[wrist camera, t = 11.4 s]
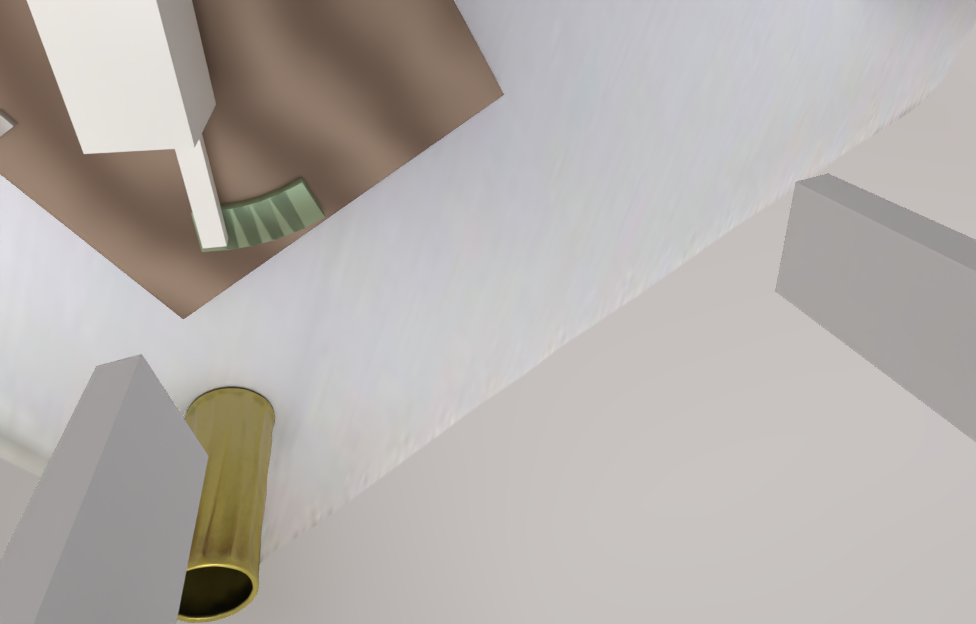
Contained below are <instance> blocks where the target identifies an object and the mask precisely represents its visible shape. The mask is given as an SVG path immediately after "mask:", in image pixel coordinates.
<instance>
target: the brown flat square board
mask: <svg viewBox="0 0 976 624" xmlns="http://www.w3.org/2000/svg"><path fill="white" fill-rule="evenodd" d="M192 3H193V7H194V11H195V16H196V20H197V24H198V29H199V33H200V37H201V42H202V46H203V50H204V54H205V59H206V63H207V67H208V72H209V76H210V80H211V85H212V89H213V93H214V98H215V102H216V106H215V108H214V110H213V112H212V114H211V116H210V118H209V120H208V122H207V124H206V126H205V128H204V130H203V132H202V135H203V139H204V143H205V147H206V151H207V155H208V159H209V163H210V167H211V171H212V175H213V179H214V183H215V187H216V191H217V195H218V199H219V203H220V207H221V211H222V215H223V219H224V223H225V227H226V231H227V235H228V243H227V246H224V247H213V248H203V247H202V244H201V240H200V237H199V233H198V230H197V226H196V223H195V219H194V215H193V212H192V208H191V205H190V201H189V198H188V194H187V191H186V187H185V183H184V180H183V176H182V173H181V169H180V166H179V162H178V159H177V155H176V151H175V149H164V150H147V151H129V152H111V153H94V154H84V153H83V151H82V148H81V145H80V143H79V140H78V137H77V135H76V132H75V129H74V126H73V124H72V121H71V118H70V116H69V113H68V110H67V108H66V105H65V102H64V100H63V97H62V94H61V91H60V89H59V86H58V83H57V81H56V78H55V75H54V73H53V70H52V67H51V65H50V62H49V59H48V56H47V54H46V51H45V48H44V46H43V43H42V40H41V38H40V35H39V32H38V30H37V27H36V24H35V21H34V19H33V16H32V13H31V11H30V8H29V5H28V3H27V0H0V174H1V175H2V176H3V177H5V178H6V179H7V180H8V181H10V182H11V183H12V184H13V185H15V186H16V187H17V188H18V189H20V190H21V191H22V192H23V193H25V194H26V195H27V196H29V197H30V198H31V199H32V200H34V201H35V202H36V203H37V204H39V205H40V206H41V207H42V208H44V209H45V210H46V211H47V212H49V213H50V214H51V215H52V216H54V217H55V218H56V219H57V220H59V221H60V222H61V223H63V224H64V225H65V226H66V227H68V228H69V229H70V230H71V231H73V232H74V233H75V234H76V235H78V236H79V237H80V238H81V239H83V240H84V241H85V242H86V243H88V244H89V245H90V246H92V247H93V248H94V249H95V250H97V251H98V252H99V253H100V254H102V255H103V256H104V257H105V258H107V259H108V260H109V261H110V262H112V263H113V264H114V265H115V266H117V267H118V268H119V269H121V270H122V271H123V272H124V273H126V274H127V275H128V276H129V277H131V278H132V279H133V280H134V281H136V282H137V283H138V284H139V285H141V286H142V287H143V288H144V289H146V290H147V291H148V292H150V293H151V294H152V295H153V296H155V297H156V298H157V299H158V300H160V301H161V302H162V303H163V304H165V305H166V306H167V307H168V308H170V309H171V310H172V311H173V312H175V313H176V314H177V315H178V316H180V317H181V318H182V319H185V318H186V317H187V316H189V315H190V314H192V313H193V312H194V311H196V310H197V309H199V308H200V307H202V306H203V305H204V304H206V303H207V302H209V301H210V300H212V299H213V298H214V297H216V296H217V295H219V294H220V293H222V292H223V291H224V290H226V289H227V288H229V287H230V286H232V285H233V284H234V283H236V282H237V281H239V280H240V279H242V278H243V277H244V276H246V275H247V274H249V273H250V272H252V271H253V270H254V269H256V268H257V267H259V266H260V265H262V264H263V263H264V262H266V261H267V260H269V259H270V258H272V257H273V256H274V255H276V254H277V253H279V252H280V251H282V250H283V249H284V248H286V247H287V246H289V245H290V244H292V243H293V242H294V241H296V240H297V239H299V238H300V237H302V236H303V235H304V234H306V233H307V232H309V231H310V230H312V229H313V228H314V227H316V226H317V225H319V224H320V223H322V222H323V221H324V220H326V219H327V218H329V217H330V216H332V215H333V214H334V213H336V212H337V211H339V210H340V209H342V208H343V207H344V206H346V205H347V204H349V203H350V202H352V201H353V200H354V199H356V198H357V197H359V196H360V195H362V194H363V193H364V192H366V191H367V190H369V189H370V188H372V187H373V186H374V185H376V184H377V183H379V182H380V181H381V180H383V179H384V178H386V177H387V176H389V175H390V174H391V173H393V172H394V171H396V170H397V169H399V168H400V167H401V166H403V165H404V164H406V163H407V162H409V161H410V160H411V159H413V158H414V157H416V156H417V155H419V154H420V153H421V152H423V151H424V150H426V149H427V148H429V147H430V146H431V145H433V144H434V143H436V142H437V141H439V140H440V139H441V138H443V137H444V136H446V135H447V134H449V133H450V132H451V131H453V130H454V129H456V128H457V127H459V126H460V125H461V124H463V123H464V122H466V121H467V120H469V119H470V118H471V117H473V116H474V115H476V114H477V113H479V112H480V111H481V110H483V109H484V108H486V107H487V106H489V105H490V104H491V103H493V102H494V101H496V100H497V99H499V98H500V97H501V96H503V95H504V94H503V92H502V90H501V88H500V86H499V84H498V82H497V81H496V79H495V77H494V75H493V73H492V71H491V69H490V68H489V66H488V64H487V62H486V60H485V58H484V56H483V54H482V53H481V51H480V49H479V47H478V45H477V43H476V41H475V39H474V38H473V36H472V34H471V32H470V30H469V28H468V26H467V25H466V23H465V21H464V19H463V17H462V15H461V13H460V11H459V10H458V8H457V6H456V4H455V2H454V0H192Z"/></svg>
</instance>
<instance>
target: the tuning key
mask: <svg viewBox="0 0 976 624" xmlns="http://www.w3.org/2000/svg"><path fill="white" fill-rule="evenodd" d="M27 3H28V5H29V8H30V11H31V13H32V16H33V19H34V21H35V24H36V27H37V30H38V32H39V35H40V38H41V40H42V43H43V46H44V48H45V51H46V54H47V56H48V59H49V62H50V65H51V67H52V70H53V73H54V75H55V78H56V81H57V83H58V86H59V89H60V91H61V94H62V97H63V100H64V102H65V105H66V108H67V110H68V113H69V116H70V118H71V121H72V124H73V126H74V129H75V132H76V135H77V137H78V140H79V143H80V145H81V148H82V151H83V153H84V154H94V153H111V152H129V151H147V150H164V149H175V151H176V155H177V159H178V162H179V166H180V169H181V173H182V176H183V180H184V183H185V187H186V191H187V194H188V198H189V201H190V205H191V208H192V212H193V215H194V219H195V223H196V226H197V230H198V233H199V237H200V240H201V244H202V247H203V248H213V247H224V246H227V243H228V235H227V231H226V227H225V223H224V219H223V215H222V211H221V207H220V203H219V199H218V195H217V191H216V187H215V183H214V179H213V175H212V171H211V167H210V163H209V159H208V155H207V151H206V147H205V143H204V139H203V135H202V132H203V130H204V128H205V126H206V124H207V122H208V120H209V118H210V116H211V114H212V112H213V110H214V108H215V106H216V102H215V98H214V93H213V89H212V85H211V80H210V76H209V72H208V67H207V63H206V59H205V54H204V50H203V46H202V42H201V37H200V33H199V29H198V24H197V20H196V16H195V11H194V7H193V3H192V0H27Z"/></svg>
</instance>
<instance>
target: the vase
mask: <svg viewBox="0 0 976 624" xmlns="http://www.w3.org/2000/svg"><path fill="white" fill-rule="evenodd" d="M185 419H186V422H187V424H188V425H189V427H190V428H191V430H192V432H193V433H194V435H195V436H196V438H197V439H198V441H199V442H200V444H201V445H202V447H203V448H204V450H205V451H206V453H207V454H208V462H207V467H206V472H205V477H204V482H203V487H202V493H201V498H200V503H199V508H198V513H197V518H196V524H195V529H194V534H193V539H192V544H191V550H190V555H189V560H188V565H187V570H186V575H185V581H184V586H183V591H182V596H181V601H180V606H179V612H178V617H177V620H180V621H184V622H193V623H194V622H209V621H215V620H218V619H222V618H225V617H228V616H231V615H233V614H235V613H237V612H238V611H240V610H242V609H243V608H245V607H246V606H247V605H248V604H249V603H250V602H252V601H253V599H254V597H255V596H256V595H257V593H258V588H259V563H260V547H261V531H262V523H263V517H264V510H265V502H266V491H267V473H268V467H269V461H270V454H271V445H272V429H273V426H274V423H275V415H274V411H273V409H272V407H271V405H270V404H269V402H268V401H267V400H266V399H265V398H263V397H262V396H260V395H258V394H256V393H254V392H252V391H249V390H245V389H239V388H224V389H218V390H214V391H211V392H209V393H206V394H204V395H202V396H201V397H199V398H198V399H197V400H196V401H195V402H194V403H193V404H192V405H191V406H190V408H189V409H188V411H187V413H186V417H185Z"/></svg>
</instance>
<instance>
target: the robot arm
mask: <svg viewBox="0 0 976 624" xmlns="http://www.w3.org/2000/svg"><path fill="white" fill-rule="evenodd" d="M775 291H776V292H777V293H778V294H780V295H781V296H782V297H784V298H785V299H786V300H788V301H789V302H790V303H792V304H793V305H794V306H796V307H797V308H798V309H800V310H801V311H802V312H804V313H805V314H806V315H808V316H809V317H810V318H812V319H813V320H814V321H816V322H817V323H818V324H819V325H821V326H822V327H823V328H825V329H826V330H827V331H829V332H830V333H831V334H833V335H834V336H836V337H837V338H838V339H840V340H841V341H842V342H844V343H845V344H846V345H848V346H849V347H850V348H852V349H853V350H854V351H855V352H857V353H858V354H859V355H861V356H862V357H863V358H865V359H866V360H867V361H869V362H870V363H871V364H873V365H874V366H875V367H877V368H878V369H879V370H881V371H882V372H883V373H885V374H886V375H887V376H889V377H890V378H891V379H893V380H894V381H895V382H897V383H898V384H899V385H901V386H902V387H903V388H905V389H906V390H907V391H909V392H910V393H911V394H913V395H914V396H915V397H917V398H918V399H919V400H921V401H922V402H923V403H925V404H926V405H927V406H929V407H930V408H931V409H933V410H934V411H935V412H937V413H938V414H939V415H941V416H942V417H943V418H944V419H946V420H947V421H948V422H950V423H951V424H952V425H954V426H955V427H957V428H958V429H959V430H960V431H962V432H963V433H964V434H966V435H967V436H969V437H970V438H971V439H973V440H974V441H975V442H976V240H975V239H973V238H970V237H968V236H966V235H964V234H962V233H959V232H957V231H955V230H953V229H950V228H948V227H946V226H944V225H941V224H939V223H937V222H935V221H933V220H930V219H928V218H926V217H924V216H922V215H919V214H917V213H915V212H913V211H910V210H908V209H906V208H903V207H901V206H899V205H897V204H895V203H893V202H890V201H888V200H886V199H884V198H881V197H879V196H877V195H875V194H873V193H870V192H868V191H866V190H864V189H861V188H859V187H857V186H855V185H852V184H850V183H848V182H846V181H844V180H841V179H839V178H837V177H835V176H832V175H830V174H824V175H820V176H816V177H813V178H809V179H805V180H801V181H797V182H796V183H795V188H794V194H793V199H792V204H791V210H790V215H789V220H788V226H787V231H786V236H785V242H784V248H783V252H782V258H781V263H780V269H779V274H778V279H777V285H776V290H775ZM207 462H208V454H207V453H206V451H205V450H204V448H203V447H202V445H201V444H200V442H199V441H198V439H197V438H196V436H195V435H194V433H193V432H192V430H191V428H190V427H189V425H188V424H187V422H186V421H185V419H184V418H183V416H182V415H181V413H180V412H179V410H178V409H177V407H176V406H175V404H174V403H173V401H172V399H171V398H170V396H169V395H168V393H167V392H166V390H165V389H164V387H163V386H162V384H161V383H160V381H159V380H158V378H157V377H156V375H155V374H154V372H153V371H152V369H151V367H150V366H149V364H148V363H147V361H146V360H145V358H144V357H143V355H142V354H141V355H137V356H133V357H129V358H125V359H122V360H118V361H114V362H110V363H106V364H103V365H99V366H96V368H95V370H94V372H93V374H92V376H91V378H90V380H89V382H88V384H87V386H86V388H85V390H84V392H83V394H82V396H81V398H80V400H79V402H78V404H77V406H76V408H75V410H74V412H73V414H72V416H71V418H70V421H69V423H68V425H67V427H66V429H65V431H64V433H63V435H62V437H61V439H60V441H59V443H58V445H57V447H56V449H55V451H54V453H53V455H52V457H51V459H50V461H49V463H48V465H47V467H46V469H45V471H44V473H43V475H42V477H41V479H40V481H39V483H38V485H37V487H36V489H35V491H34V493H33V495H32V497H31V499H30V501H29V503H28V505H27V507H26V509H25V511H24V513H23V515H22V517H21V519H20V521H19V523H18V525H17V527H16V529H15V531H14V533H13V535H12V537H11V539H10V541H9V543H8V545H7V547H6V550H5V551H4V554H3V555H2V557H1V559H0V624H176V621H177V617H178V612H179V606H180V601H181V596H182V591H183V586H184V581H185V575H186V570H187V565H188V560H189V555H190V550H191V544H192V539H193V534H194V529H195V524H196V518H197V513H198V508H199V503H200V498H201V493H202V487H203V482H204V477H205V472H206V467H207Z"/></svg>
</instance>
